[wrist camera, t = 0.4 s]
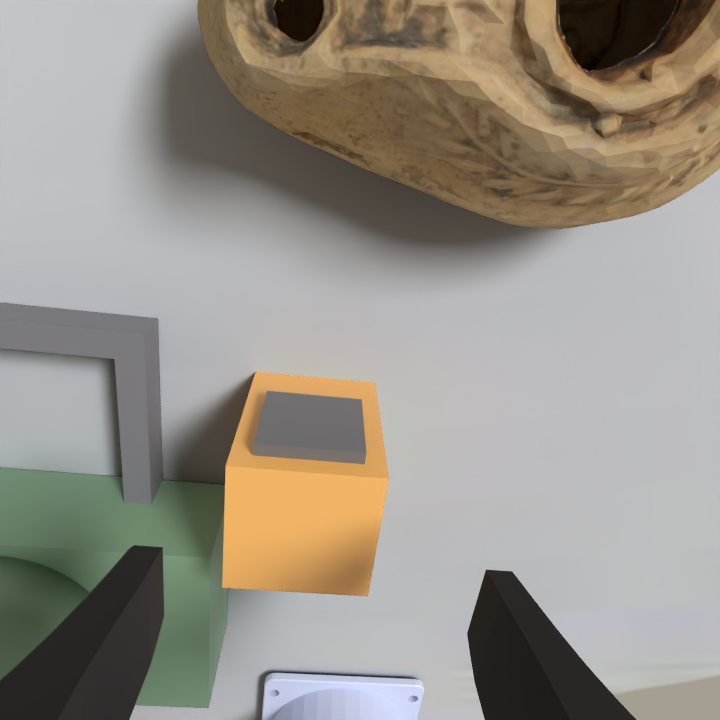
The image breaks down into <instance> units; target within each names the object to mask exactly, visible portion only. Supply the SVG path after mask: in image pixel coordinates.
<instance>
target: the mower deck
mask: <svg viewBox="0 0 720 720" xmlns="http://www.w3.org/2000/svg"><path fill="white" fill-rule="evenodd" d="M0 348H3V349H13V350H24V351H35V352H45V353H56V354H67V355H77V356H88V357H99V358H109V359H115V374H116V388H117V403H118V418H119V432H120V447H121V462H122V477H116V476H102V475H89V474H76V473H63V472H49V471H36V470H23V469H9V468H0V680H1V679H2V678H3V677H4V676H5V675H6V674H8V673H9V672H10V671H11V670H12V669H13V668H14V667H15V666H16V665H18V664H19V663H20V662H21V661H22V660H23V659H24V658H25V657H26V656H27V655H28V654H29V653H30V652H31V651H32V650H33V649H34V648H35V647H37V646H38V645H39V644H40V643H41V642H42V641H43V640H44V639H45V638H46V637H47V636H48V635H49V634H50V633H51V632H52V631H53V630H54V629H55V628H56V627H57V626H58V625H59V624H60V623H61V622H62V621H63V620H64V619H65V618H66V617H67V616H68V615H69V614H70V613H71V612H72V611H73V610H74V609H75V608H76V607H77V606H78V605H79V604H80V603H81V602H82V601H83V600H84V599H85V597H86V596H87V595H88V594H89V593H90V592H91V591H92V590H93V589H94V588H95V587H96V586H97V584H98V583H99V582H100V581H101V580H102V579H103V578H104V577H105V576H106V574H107V573H108V572H109V571H110V570H111V569H112V568H113V567H114V565H115V564H116V563H117V562H118V561H119V560H120V559H121V557H122V556H123V555H124V554H125V553H126V552H127V550H128V549H129V548H131V547H132V546H134V545H139V546H153V547H163V581H164V618H163V622H162V626H161V629H160V633H159V637H158V640H157V644H156V648H155V651H154V654H153V658H152V661H151V665H150V668H149V670H148V673H147V675H146V678H145V681H144V683H143V686H142V688H141V691H140V693H139V696H138V698H137V701H136V704H135V705H144V706H170V707H195V708H209V703H210V699H211V694H212V689H213V685H214V680H215V676H216V671H217V666H218V662H219V657H220V652H221V648H222V643H223V639H224V634H225V629H226V625H227V604H228V588H222V578H223V541H224V504H225V485H222V484H209V483H196V482H182V481H169V480H163V468H162V436H161V403H160V371H159V339H158V319H157V318H147V317H137V316H127V315H117V314H107V313H97V312H87V311H77V310H67V309H57V308H47V307H37V306H27V305H18V304H8V303H0Z"/></svg>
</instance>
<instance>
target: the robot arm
mask: <svg viewBox="0 0 720 720" xmlns="http://www.w3.org/2000/svg"><path fill="white" fill-rule="evenodd" d="M163 618H164V581H163V547H153V546H139V545H134V546H132V547H131V548H129V549H128V550H127V552H126V553H125V554H124V555H123V556H122V557H121V559H120V560H119V561H118V562H117V563H116V564H115V565H114V567H113V568H112V569H111V570H110V571H109V572H108V573H107V574H106V576H105V577H104V578H103V579H102V580H101V581H100V582H99V583H98V584H97V586H96V587H95V588H94V589H93V590H92V591H91V592H90V593H89V594H88V595H87V596H86V597H85V599H84V600H83V601H82V602H81V603H80V604H79V605H78V606H77V607H76V608H75V609H74V610H73V611H72V612H71V613H70V614H69V615H68V616H67V617H66V618H65V619H64V620H63V621H62V622H61V623H60V624H59V625H58V626H57V627H56V628H55V629H54V630H53V631H52V632H51V633H50V634H49V635H48V636H47V637H46V638H45V639H44V640H43V641H42V642H41V643H40V644H39V645H38V646H37V647H35V648H34V649H33V650H32V651H31V652H30V653H29V654H28V655H27V656H26V657H25V658H24V659H23V660H22V661H21V662H20V663H19V664H18V665H16V666H15V667H14V668H13V669H12V670H11V671H10V672H9V673H8V674H6V675H5V676H4V677H3V678H2V679H1V680H0V720H129V719H130V716H131V714H132V711H133V709H134V706H135V704H136V701H137V698H138V696H139V693H140V691H141V688H142V686H143V683H144V681H145V678H146V675H147V673H148V670H149V668H150V665H151V661H152V658H153V654H154V651H155V648H156V644H157V640H158V637H159V633H160V629H161V626H162V622H163ZM467 635H468V642H469V649H470V656H471V662H472V668H473V674H474V680H475V684H476V688H477V692H478V696H479V700H480V703H481V707H482V711H483V714H484V718H485V720H636V719H635V718H634V717H633V716H632V715H631V714H630V713H629V712H628V711H627V709H626V708H625V707H624V706H623V705H622V704H621V703H620V702H619V701H618V700H617V699H616V698H615V697H614V695H613V694H612V693H611V692H610V691H609V690H608V689H607V688H606V687H605V686H604V684H603V683H602V682H601V681H600V680H599V679H598V678H597V677H596V676H595V674H594V673H593V672H592V671H591V670H590V669H589V667H588V666H587V665H586V664H585V663H584V662H583V660H582V659H581V658H580V657H579V656H578V654H577V653H576V652H575V651H574V650H573V648H572V647H571V646H570V645H569V643H568V642H567V641H566V640H565V639H564V637H563V636H562V635H561V634H560V632H559V631H558V630H557V629H556V627H555V626H554V625H553V624H552V622H551V621H550V620H549V618H548V617H547V616H546V615H545V613H544V612H543V611H542V610H541V608H540V607H539V606H538V604H537V603H536V602H535V600H534V599H533V598H532V597H531V595H530V594H529V593H528V591H527V590H526V589H525V588H524V586H523V585H522V584H521V582H520V581H519V580H518V579H517V577H516V576H515V575H514V573H513V572H511V571H496V570H486V572H485V575H484V579H483V582H482V585H481V589H480V592H479V596H478V599H477V602H476V606H475V609H474V613H473V616H472V619H471V623H470V626H469V629H468V633H467ZM423 694H424V686H423V683H422V682H421V681H420V680H417V679H403V678H381V677H359V676H337V675H315V674H293V673H271V674H269V675H268V676H266V678H265V684H264V696H263V709H262V720H417V717H418V713H419V710H420V706H421V702H422V698H423Z"/></svg>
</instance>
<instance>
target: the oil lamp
mask: <svg viewBox="0 0 720 720" xmlns="http://www.w3.org/2000/svg"><path fill="white" fill-rule="evenodd" d="M198 20H199V24H200V28H201V32H202V36H203V39H204V43H205V47H206V51H207V54H208V56H209V58H210V60H211V62H212V64H213V66H214V68H215V70H216V72H217V73H218V75H219V76H220V78H221V79H222V80H223V82H224V83H225V85H226V86H227V87H228V89H229V90H230V92H231V93H232V94H233V95H234V97H235V98H236V99H237V100H238V101H239V102H240V104H241V105H242V106H243V107H244V108H245V109H246V110H248V111H250V112H251V113H253V114H255V115H256V116H258V117H260V118H262V119H263V120H265V121H266V122H268V123H269V124H271V125H273V126H274V127H276V128H278V129H279V130H281V131H283V132H285V133H287V134H289V135H291V136H293V137H295V138H297V139H299V140H301V141H303V142H305V143H307V144H309V145H311V146H314V147H316V148H318V149H321V150H323V151H326V152H328V153H330V154H333V155H335V156H337V157H339V158H341V159H343V160H346V161H348V162H350V163H352V164H354V165H356V166H358V167H361V168H363V169H366V170H368V171H371V172H373V173H376V174H378V175H381V176H383V177H386V178H389V179H391V180H394V181H396V182H399V183H401V184H404V185H407V186H409V187H412V188H414V189H417V190H419V191H422V192H424V193H427V194H429V195H431V196H433V197H436V198H438V199H440V200H443V201H445V202H448V203H451V204H453V205H456V206H459V207H461V208H464V209H467V210H469V211H472V212H475V213H477V214H480V215H483V216H486V217H489V218H492V219H495V220H497V221H500V222H504V223H508V224H512V225H517V226H523V227H535V228H551V229H562V228H572V227H577V226H583V225H589V224H594V223H600V222H606V221H612V220H617V219H621V218H626V217H631V216H635V215H638V214H641V213H644V212H648V211H650V210H653V209H656V208H658V207H660V206H662V205H664V204H666V203H668V202H670V201H672V200H674V199H676V198H677V197H679V196H681V195H682V194H684V193H686V192H687V191H689V190H690V189H692V188H693V187H695V186H696V185H698V184H699V183H701V182H703V181H704V180H705V179H707V178H708V177H709V176H710V175H712V174H713V173H714V172H715V171H717V170H718V169H719V168H720V0H198Z"/></svg>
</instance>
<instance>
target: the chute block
mask: <svg viewBox="0 0 720 720" xmlns="http://www.w3.org/2000/svg"><path fill="white" fill-rule="evenodd" d="M388 480H389V477H388V470H387V463H386V456H385V449H384V442H383V435H382V428H381V421H380V414H379V408H378V401H377V394H376V387H375V383H370V382H360V381H349V380H338V379H328V378H317V377H306V376H296V375H285V374H274V373H264V372H255V376H254V379H253V382H252V385H251V388H250V391H249V394H248V397H247V401H246V404H245V407H244V410H243V413H242V416H241V419H240V422H239V426H238V429H237V432H236V435H235V438H234V441H233V444H232V447H231V451H230V454H229V457H228V460H227V463H226V468H225V504H224V541H223V578H222V588H235V589H252V590H269V591H286V592H303V593H320V594H336V595H353V596H368V593H369V587H370V582H371V576H372V570H373V565H374V559H375V554H376V548H377V542H378V537H379V531H380V525H381V520H382V514H383V508H384V503H385V497H386V492H387V486H388Z"/></svg>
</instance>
